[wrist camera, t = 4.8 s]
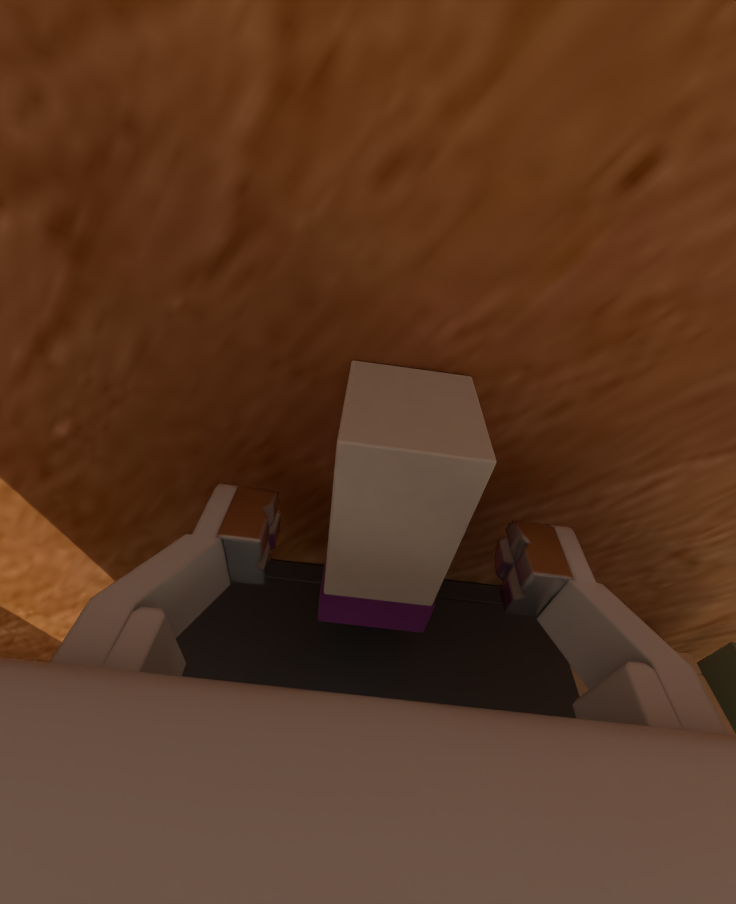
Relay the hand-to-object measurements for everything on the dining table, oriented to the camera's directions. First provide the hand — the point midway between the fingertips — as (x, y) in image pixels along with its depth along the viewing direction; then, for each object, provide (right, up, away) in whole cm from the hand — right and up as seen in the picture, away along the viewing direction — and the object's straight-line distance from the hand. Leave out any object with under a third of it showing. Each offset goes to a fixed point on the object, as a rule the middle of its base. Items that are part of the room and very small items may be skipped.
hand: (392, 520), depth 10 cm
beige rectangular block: (0, +1, +2) cm, 2 cm away
